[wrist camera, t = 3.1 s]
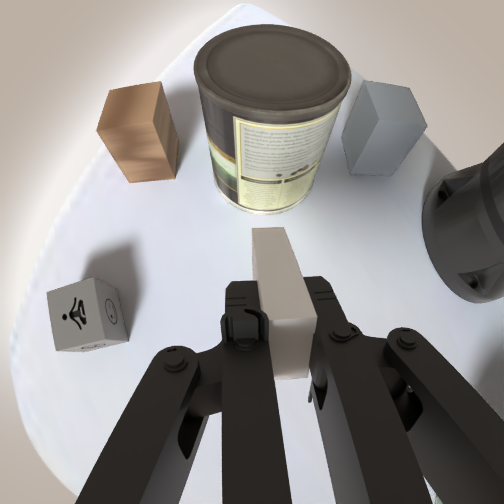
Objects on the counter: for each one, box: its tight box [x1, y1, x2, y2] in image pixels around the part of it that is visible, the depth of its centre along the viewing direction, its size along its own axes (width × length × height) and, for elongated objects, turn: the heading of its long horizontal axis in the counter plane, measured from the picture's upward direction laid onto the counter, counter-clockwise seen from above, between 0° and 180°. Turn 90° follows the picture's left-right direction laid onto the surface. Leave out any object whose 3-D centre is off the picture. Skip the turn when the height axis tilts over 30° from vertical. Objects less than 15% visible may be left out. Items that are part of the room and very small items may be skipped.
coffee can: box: [194, 24, 351, 215], centre depth 24 cm, size 10×10×14 cm
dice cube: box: [47, 277, 129, 352], centre depth 23 cm, size 5×5×5 cm
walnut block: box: [96, 81, 179, 183], centre depth 26 cm, size 5×5×9 cm
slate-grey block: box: [341, 80, 427, 176], centre depth 27 cm, size 5×5×9 cm
